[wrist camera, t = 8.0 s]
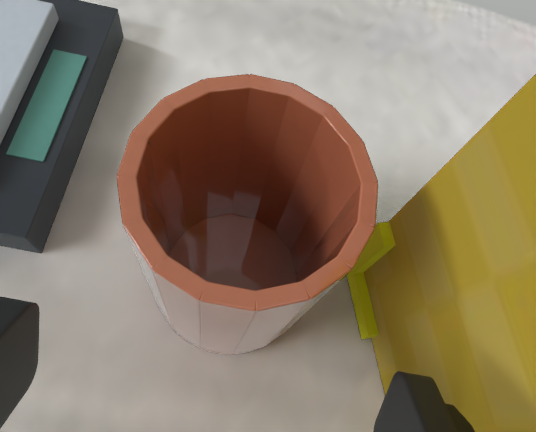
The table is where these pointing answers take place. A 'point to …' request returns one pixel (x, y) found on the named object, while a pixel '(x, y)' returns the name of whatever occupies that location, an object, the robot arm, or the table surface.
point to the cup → (244, 207)
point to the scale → (47, 105)
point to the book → (463, 277)
